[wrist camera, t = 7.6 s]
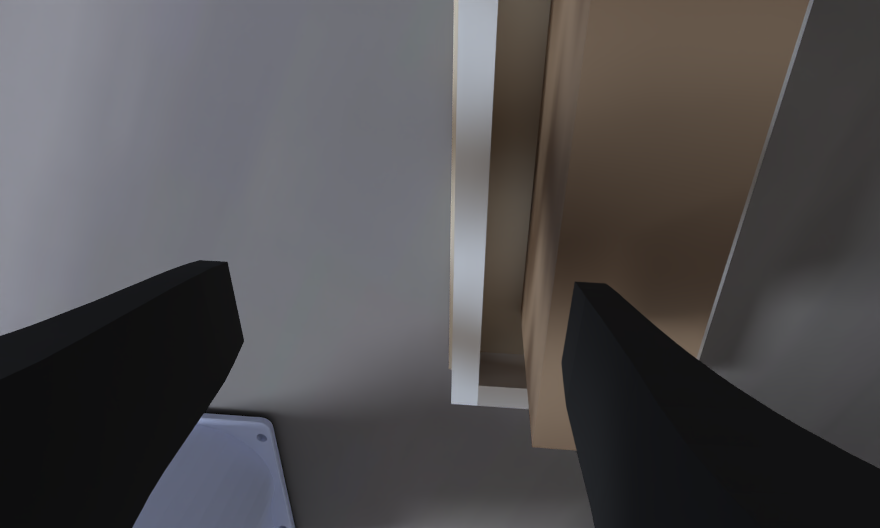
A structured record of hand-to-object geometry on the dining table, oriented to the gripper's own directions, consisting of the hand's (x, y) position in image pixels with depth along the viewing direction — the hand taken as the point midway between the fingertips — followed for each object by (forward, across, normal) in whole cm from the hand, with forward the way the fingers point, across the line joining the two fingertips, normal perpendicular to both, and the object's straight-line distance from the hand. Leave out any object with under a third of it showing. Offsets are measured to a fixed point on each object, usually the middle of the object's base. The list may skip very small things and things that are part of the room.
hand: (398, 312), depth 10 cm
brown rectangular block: (+8, -5, -1) cm, 9 cm away
